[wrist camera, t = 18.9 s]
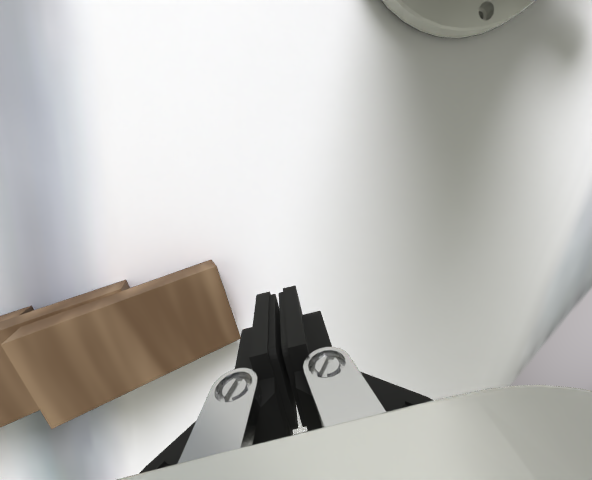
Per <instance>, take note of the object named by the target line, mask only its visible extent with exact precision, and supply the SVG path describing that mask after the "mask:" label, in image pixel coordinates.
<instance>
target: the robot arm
mask: <svg viewBox="0 0 592 480" xmlns="http://www.w3.org/2000/svg"><path fill="white" fill-rule="evenodd" d="M382 1H383V2H384V4H385V5H386V6H387V8H388V9H390V10H391V11H392V12H393V13H394V14H395V15H397V16H398V17H399V18H400V19H401V20H402V21H403V22H405V23H407V24H409V25H410V26H412V27H414V28H416V29H418V30H420V31H421V32H424V33H428V34H432V35H435V36H439V37H450V38H463V37H468V36H473V35H479V34H482V33H484V32H487V31H489V30H491V29H494V28H496V27H498V26H500V25H502V24H503V23H505V22H507V21H508V20H510V19H511V18H513V17H515V16H516V15H518V14H520V13H521V12H522V11H524V10H525V9H526V8H527V7H528V6H530V5H531V4H532V3H533V2H535V1H536V0H382ZM279 309H280V310H279ZM296 405H297V408H298V412H299V416H300V419H301V423H302V426H303V427H305V426H307V430H308V431H307V432H303V433H299V434H295V435H293V429H297V428H298V421H297V411H296ZM117 480H592V391H589V390H584V389H577V388H571V387H560V386H558V387H557V386H546V385H523V386H507V387H499V388H491V389H485V390H480V391H475V392H470V393H465V394H461V395H456V396H451V397H446V398H441V399H437V400H432V399H430V398H428V397H426V396H423V395H421V394H418V393H415V392H413V391H410V390H407V389H405V388H402V387H399V386H397V385H394V384H392V383H389V382H386V381H384V380H381V379H378V378H376V377H373V376H370V375H368V374H365V373H362V372H360V371H359V370H358V368H357V367H356V365H355V364H354V362H353V360H352V359H351V357H350V356H349V355H348V354H347V353H346V352H345V351H344V350H342V349H340V348H336V347H332V345H331V342H330V339H329V336H328V333H327V330H326V327H325V324H324V321H323V318H322V315H321V312H320V311H317V312H313V313H309V314H305V315H302V311H301V307H300V302H299V298H298V294H297V290H296V286H291V287H287V288H283V292H281V293H279V306H278V302H277V298H276V295H275V294H272V295H271V294H270V292H266V293H262V294H258V295H257V296H256V304H255V312H254V320H253V327H251V328H247V329H243V330H242V333H241V339H240V344H239V350H238V355H237V360H236V366H235V369H234V370H231V371H229V372H227V373H225V374H224V375H222V376H221V377H220V378H219V379H218V380H217V381H216V382H215V383H214V384H213V386H212V388H211V390H210V392H209V394H208V396H207V399H206V401H205V403H204V405H203V408H202V410H201V412H200V414H199V416H198V419H197V421H195V422H194V423H193V424H192V425H191V426H190V427H189V428H188V429H187V430H186V431H184V432H183V433H182V434H181V435H180V436H179V437H178V438H177V439H176V440H175V441H173V442H172V443H171V444H170V445H169V446H168V447H167V448H166V449H165V450H164V451H162V452H161V453H160V454H159V455H158V456H157V457H156V458H155V459H154V460H153V461H151V462H150V463H149V464H148V465H147V466H146V467H145V468H144V469H143V470H142V471H141V472H140V473H139V474H136V475H132V476H129V477H125V478H121V479H117Z"/></svg>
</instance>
